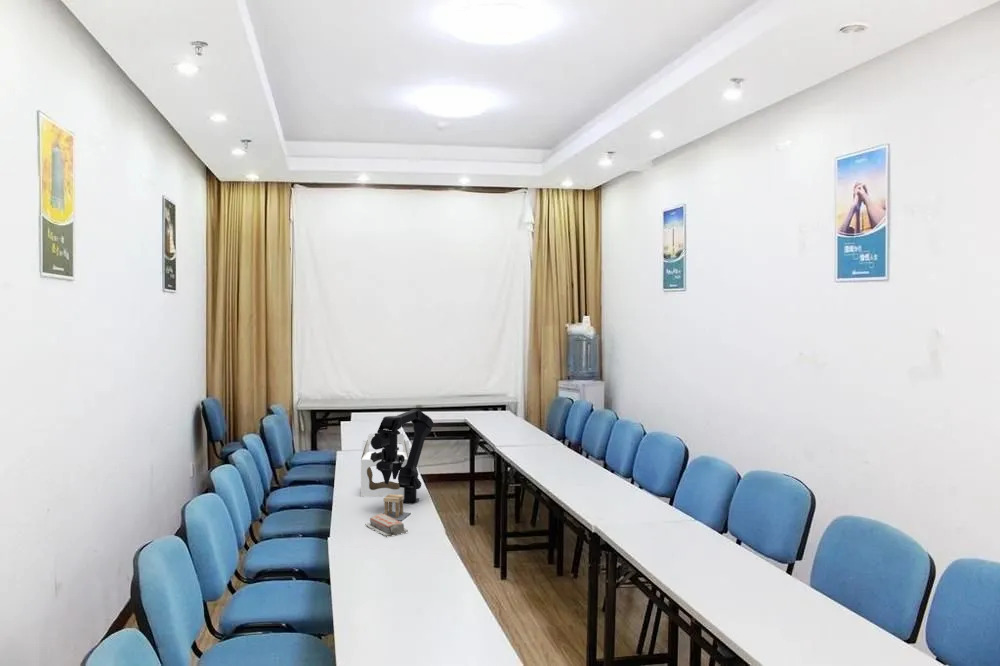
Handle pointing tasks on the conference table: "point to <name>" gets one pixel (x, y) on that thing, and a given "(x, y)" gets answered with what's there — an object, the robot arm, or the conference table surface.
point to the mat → (399, 515)
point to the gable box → (366, 473)
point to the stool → (398, 502)
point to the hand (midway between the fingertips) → (390, 481)
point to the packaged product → (386, 525)
